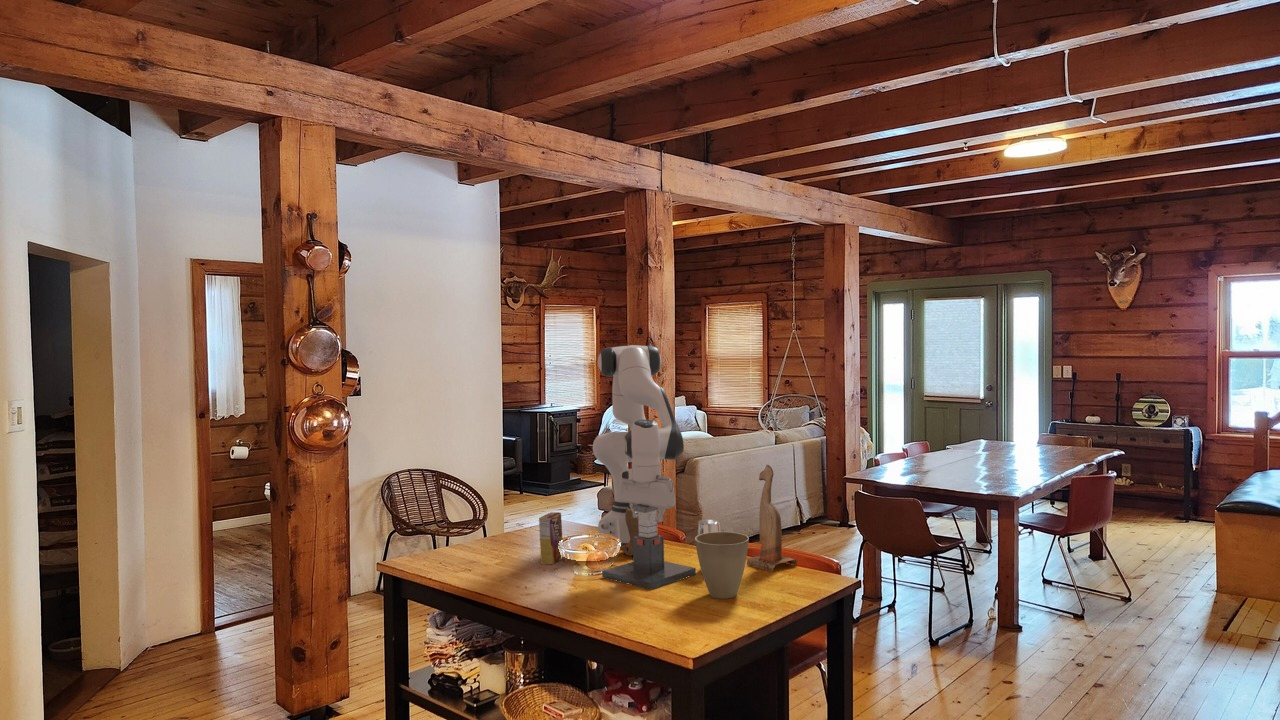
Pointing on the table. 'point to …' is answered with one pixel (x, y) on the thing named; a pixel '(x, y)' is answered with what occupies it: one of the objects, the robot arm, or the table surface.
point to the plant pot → (722, 561)
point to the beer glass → (708, 526)
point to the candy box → (550, 537)
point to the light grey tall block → (647, 521)
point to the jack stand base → (648, 566)
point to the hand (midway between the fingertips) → (647, 519)
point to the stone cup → (630, 531)
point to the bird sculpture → (769, 529)
